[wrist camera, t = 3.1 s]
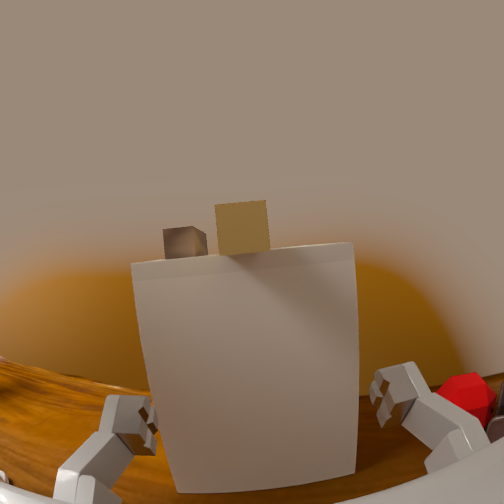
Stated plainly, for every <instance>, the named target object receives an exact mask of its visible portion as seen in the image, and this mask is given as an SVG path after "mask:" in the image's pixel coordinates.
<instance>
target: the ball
mask: <svg viewBox="0 0 504 504" xmlns="http://www.w3.org/2000/svg"><path fill="white" fill-rule="evenodd" d="M435 393H437V394H438V395H440V396H441V397H443V398H445V399H446V400H448V401H450V402H451V403H453V404H455V405H456V406H458V407H460V408H461V409H463V410H465V411H466V412H468V413H469V414H471V415H473V416H474V417H476V418H478V420H479V421H480V423H481V425H482V427H483V429H484V427H485V426H486V425H487V424H488V422H489V421H490V420H491V418H492V412H493V411H494V406H495V401H496V396H497V395H496V394H495V393H494V391H493V390H492V389H491V388H490V387H489V385H488V384H487V383H486V382H485V381H484V380H483V379H482V378H481V377H480V376H479V375H478V374H477V373H476V372H474V373H469V374H464V375H457V376H451V377H450V378H449V379H448V380H447V381H446V382H445V383H444V384H443V385H442V386H441V387H440V388H439V389H438V390H437V391H436V392H435Z"/></svg>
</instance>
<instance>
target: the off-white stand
mask: <svg viewBox="0 0 504 504" xmlns="http://www.w3.org/2000/svg"><path fill="white" fill-rule="evenodd" d="M131 271H132V280H133V288H134V297H135V305H136V312H137V319H138V325H139V332H140V338H141V344H142V350H143V355H144V361H145V366H146V371H147V377H148V381H149V386H150V391H151V396H152V400H153V405H154V408H155V410H156V412H157V416H158V426H159V430H160V434H161V437H162V441H163V445H164V449H165V452H166V456H167V459H168V463H169V466H170V470H171V473H172V476H173V479H174V483H175V486H176V489H177V492H178V493H227V492H243V491H255V490H264V489H273V488H281V487H288V486H295V485H301V484H307V483H312V482H318V481H323V480H327V479H332V478H337V477H341V476H345V475H349V474H353V473H355V466H356V452H357V435H358V410H359V338H358V337H359V335H358V308H357V290H356V275H355V261H354V250H353V242H345V243H334V244H333V243H332V244H319V245H307V246H296V247H285V248H275V249H271V251H265V252H255V253H244V254H234V255H224V256H219V254H213V255H205V256H198V257H189V258H179V259H169V260H156V261H148V262H139V263H131Z"/></svg>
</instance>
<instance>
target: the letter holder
mask: <svg viewBox="0 0 504 504" xmlns="http://www.w3.org/2000/svg"><path fill="white" fill-rule="evenodd" d="M486 435H487V437H488V439H489V441H490V443H491V444H492V443H493V442H495V441H497V440H499V439H500V438H502V437H504V381H503V383H502V385H501V389H500V395H499V400H498V405H497V410H496V415H495V417H493V418H492V419H491V420H490V422H489V424H488V427H487V430H486Z"/></svg>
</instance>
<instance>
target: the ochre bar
mask: <svg viewBox="0 0 504 504" xmlns="http://www.w3.org/2000/svg"><path fill="white" fill-rule="evenodd" d="M215 213H216V226H217V237H218V247H219V256H224V255H234V254H244V253H255V252H265V251H271V249H270V239H269V229H268V219H267V209H266V200H261V201H249V202H239V203H228V204H219V205H215Z"/></svg>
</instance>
